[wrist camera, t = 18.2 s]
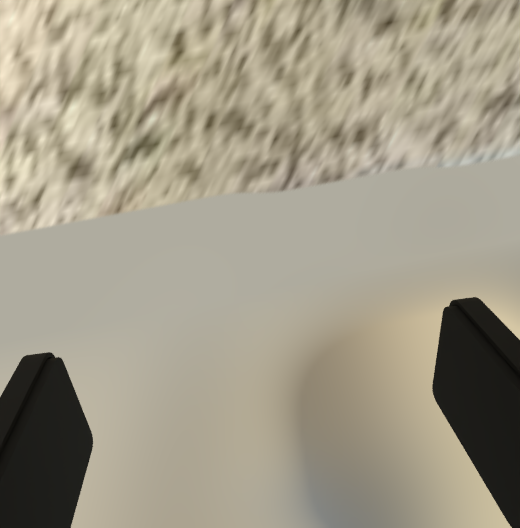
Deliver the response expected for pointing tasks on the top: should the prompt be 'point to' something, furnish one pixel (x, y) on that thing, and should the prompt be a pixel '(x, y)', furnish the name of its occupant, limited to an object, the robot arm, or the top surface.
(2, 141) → the top surface
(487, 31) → the top surface
